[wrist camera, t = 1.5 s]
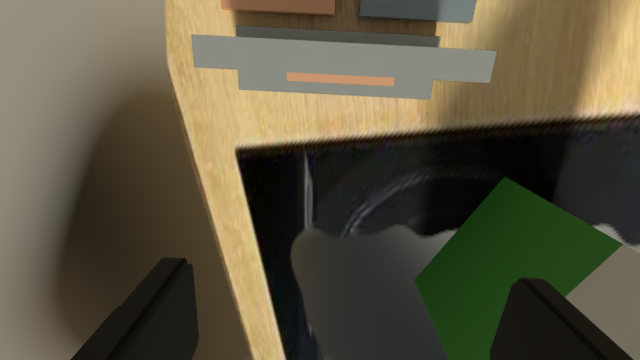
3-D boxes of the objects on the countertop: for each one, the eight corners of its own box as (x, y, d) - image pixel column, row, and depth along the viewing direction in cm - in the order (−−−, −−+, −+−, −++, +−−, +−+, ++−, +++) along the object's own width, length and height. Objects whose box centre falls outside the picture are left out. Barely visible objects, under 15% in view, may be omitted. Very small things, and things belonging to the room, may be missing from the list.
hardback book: (456, 303, 42) (610, 570, 20) (414, 280, 41) (526, 537, 18) (549, 205, 37) (906, 415, 14) (504, 176, 36) (817, 355, 13)
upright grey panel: (435, 38, 31) (504, 16, 19) (425, 98, 33) (482, 112, 21) (240, 27, 31) (188, -1, 19) (242, 88, 33) (196, 97, 21)
